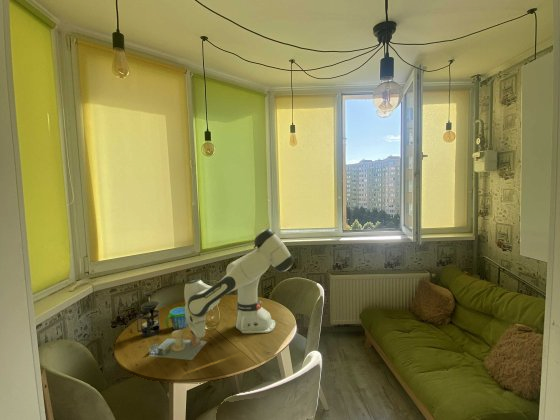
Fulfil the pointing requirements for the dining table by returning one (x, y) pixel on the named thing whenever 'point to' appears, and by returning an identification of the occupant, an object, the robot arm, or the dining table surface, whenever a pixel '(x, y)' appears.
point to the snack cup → (177, 318)
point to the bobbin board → (183, 353)
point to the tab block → (192, 338)
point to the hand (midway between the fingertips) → (195, 339)
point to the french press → (149, 318)
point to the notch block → (159, 350)
